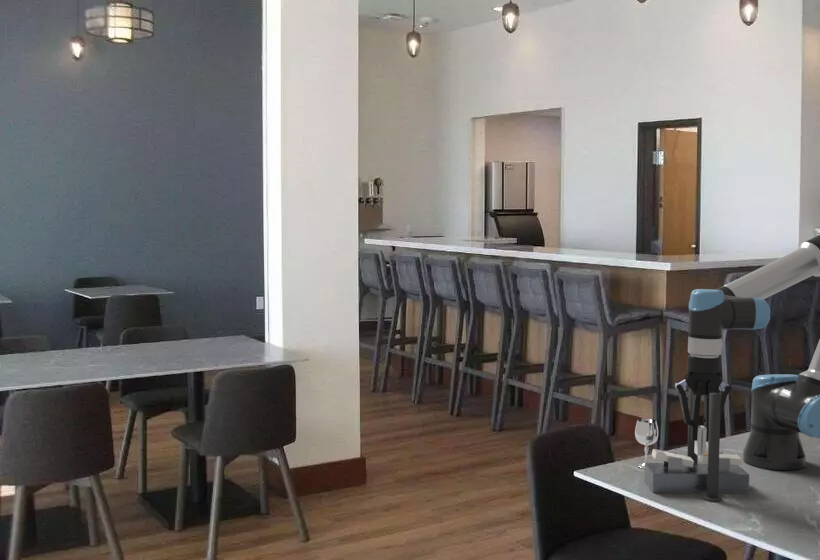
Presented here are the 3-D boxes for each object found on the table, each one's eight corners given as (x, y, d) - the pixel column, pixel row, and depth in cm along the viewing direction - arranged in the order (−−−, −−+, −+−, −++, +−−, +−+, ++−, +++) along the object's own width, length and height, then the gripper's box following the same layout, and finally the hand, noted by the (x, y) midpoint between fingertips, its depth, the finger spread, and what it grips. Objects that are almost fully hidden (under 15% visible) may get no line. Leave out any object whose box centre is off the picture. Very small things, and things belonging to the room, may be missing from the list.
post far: (698, 474, 226) (700, 377, 224) (702, 478, 222) (704, 380, 220) (681, 473, 226) (683, 377, 224) (685, 478, 222) (688, 380, 220)
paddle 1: (688, 462, 216) (690, 456, 216) (692, 467, 213) (694, 460, 212) (651, 454, 217) (652, 448, 217) (655, 459, 213) (656, 452, 213)
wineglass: (658, 470, 229) (659, 423, 228) (634, 469, 230) (635, 422, 229) (656, 464, 234) (657, 418, 233) (634, 462, 236) (634, 417, 235)
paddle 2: (736, 460, 216) (736, 454, 216) (741, 465, 212) (741, 458, 212) (697, 457, 216) (698, 451, 216) (702, 462, 212) (703, 455, 212)
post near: (718, 496, 208) (721, 392, 206) (724, 502, 204) (726, 395, 202) (701, 496, 208) (703, 391, 206) (706, 501, 204) (708, 395, 202)
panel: (736, 482, 219) (737, 450, 218) (748, 493, 210) (749, 461, 209) (644, 481, 220) (645, 449, 219) (652, 492, 211) (653, 460, 210)
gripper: (728, 353, 216) (723, 450, 218) (671, 352, 216) (667, 449, 218) (738, 358, 208) (733, 459, 210) (679, 357, 209) (674, 457, 211)
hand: (699, 453), depth 214 cm, fingers closed
